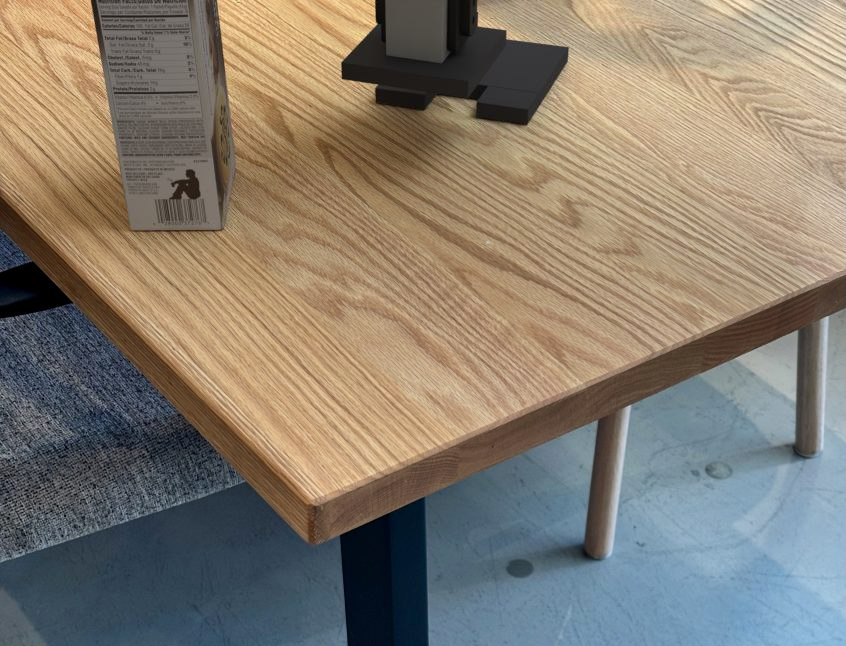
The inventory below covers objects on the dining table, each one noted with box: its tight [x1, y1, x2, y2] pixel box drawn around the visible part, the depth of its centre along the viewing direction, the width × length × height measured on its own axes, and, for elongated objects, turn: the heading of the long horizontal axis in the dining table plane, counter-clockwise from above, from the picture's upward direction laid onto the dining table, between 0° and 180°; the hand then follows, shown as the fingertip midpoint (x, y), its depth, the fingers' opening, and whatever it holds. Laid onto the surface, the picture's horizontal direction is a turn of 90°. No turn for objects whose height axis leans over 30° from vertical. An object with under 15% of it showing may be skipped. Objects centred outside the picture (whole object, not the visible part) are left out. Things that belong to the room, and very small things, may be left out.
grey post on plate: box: [340, 0, 508, 99], centre depth 91 cm, size 9×12×7 cm
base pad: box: [374, 38, 570, 125], centre depth 103 cm, size 12×12×1 cm
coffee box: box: [90, 0, 237, 231], centre depth 84 cm, size 9×6×16 cm
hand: (425, 37), depth 91 cm, fingers closed on grey post on plate, 4 cm apart
